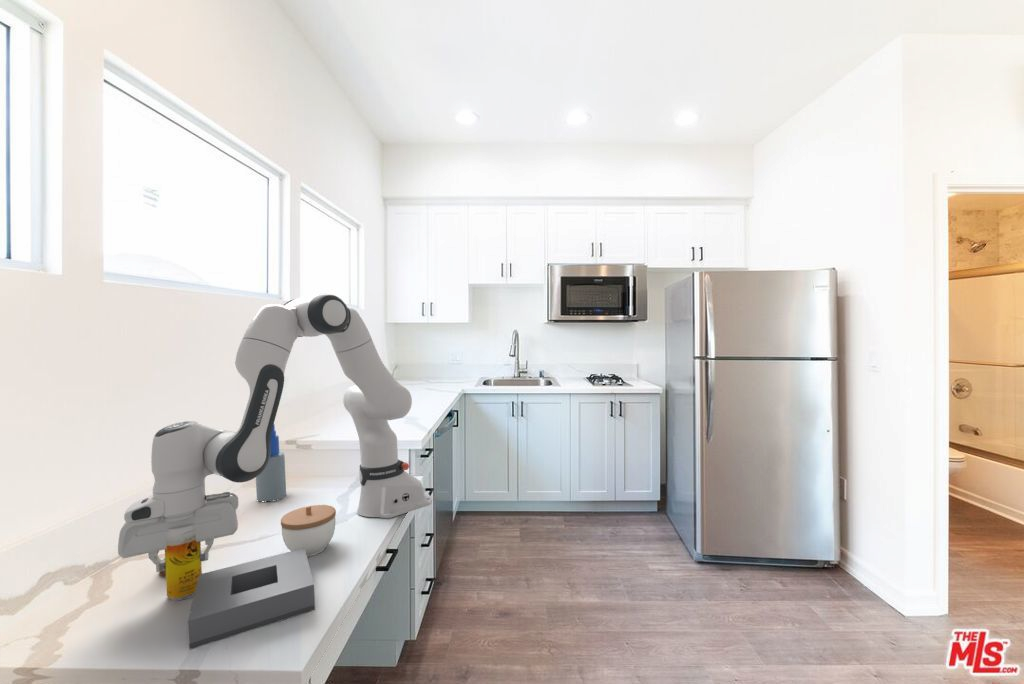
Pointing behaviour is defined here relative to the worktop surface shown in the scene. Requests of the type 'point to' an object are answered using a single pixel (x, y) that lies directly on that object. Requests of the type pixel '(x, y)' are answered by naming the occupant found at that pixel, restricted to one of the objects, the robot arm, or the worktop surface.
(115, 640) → the worktop surface
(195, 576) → the beer can
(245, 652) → the worktop surface
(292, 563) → the can dock
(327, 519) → the lidded bowl
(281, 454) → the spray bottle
